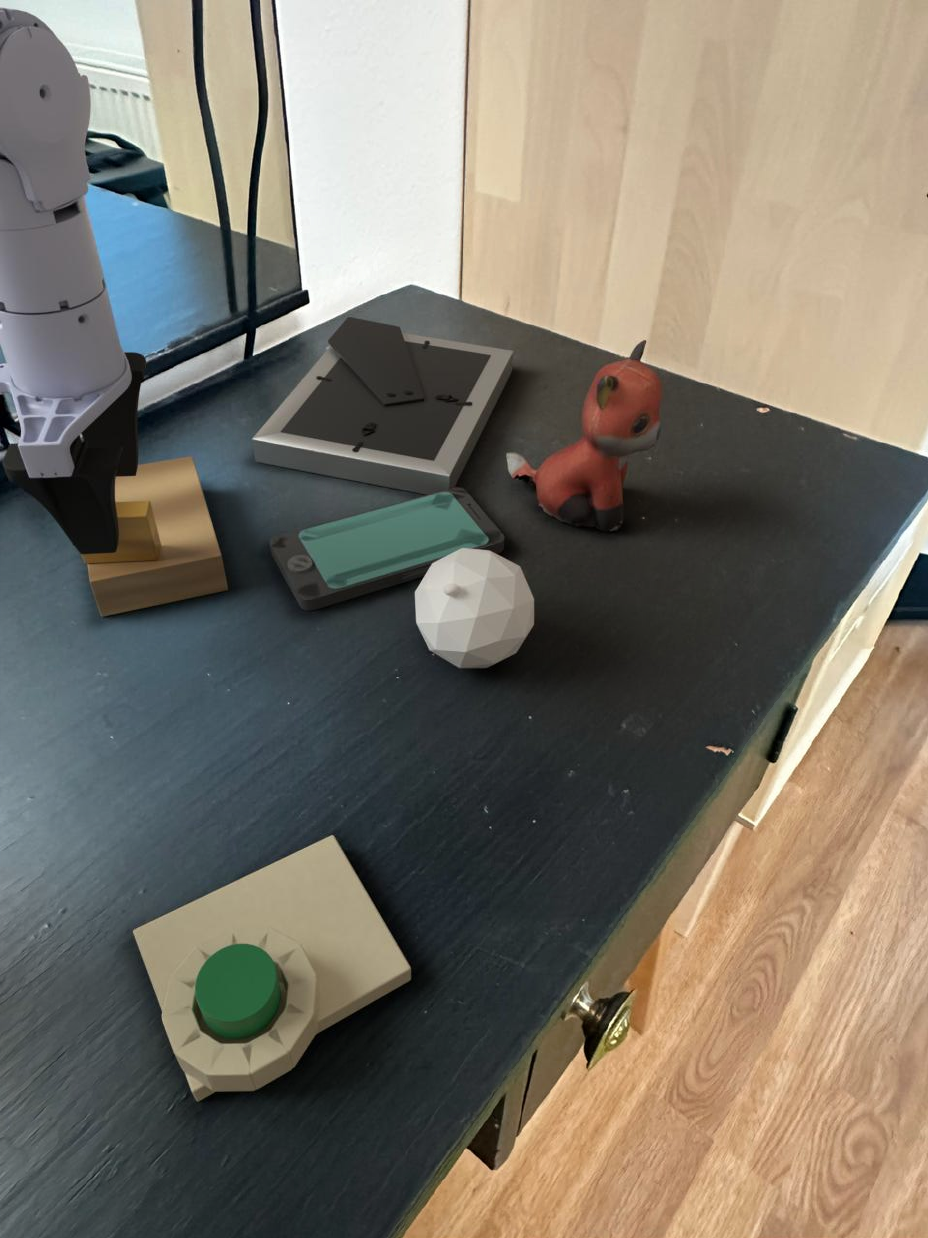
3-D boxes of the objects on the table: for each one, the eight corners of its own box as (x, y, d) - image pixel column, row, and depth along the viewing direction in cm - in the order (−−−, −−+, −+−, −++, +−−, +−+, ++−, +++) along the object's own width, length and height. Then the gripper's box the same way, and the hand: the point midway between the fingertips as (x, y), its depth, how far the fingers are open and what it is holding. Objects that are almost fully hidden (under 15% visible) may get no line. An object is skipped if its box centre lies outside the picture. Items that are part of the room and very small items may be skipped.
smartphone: (266, 535, 61) (461, 482, 66) (268, 550, 62) (461, 496, 67) (302, 601, 57) (509, 539, 62) (304, 616, 57) (508, 553, 63)
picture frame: (349, 345, 84) (255, 461, 70) (348, 316, 82) (250, 430, 68) (511, 371, 82) (448, 499, 67) (514, 342, 80) (449, 467, 65)
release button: (218, 1055, 35) (211, 1038, 34) (191, 986, 37) (183, 967, 36) (293, 1013, 36) (289, 995, 35) (263, 949, 38) (258, 929, 37)
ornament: (554, 670, 54) (516, 639, 47) (442, 685, 57) (389, 657, 50) (546, 562, 57) (508, 517, 49) (437, 581, 59) (386, 539, 52)
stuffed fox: (517, 454, 72) (530, 311, 64) (653, 490, 69) (686, 344, 61) (483, 505, 67) (492, 356, 58) (628, 545, 64) (660, 395, 56)
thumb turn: (161, 544, 57) (149, 496, 55) (158, 560, 56) (145, 512, 54) (88, 547, 57) (73, 499, 54) (84, 563, 56) (67, 515, 53)
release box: (206, 1133, 36) (193, 1107, 33) (136, 942, 41) (121, 910, 39) (425, 1004, 40) (426, 973, 38) (334, 847, 45) (330, 812, 43)
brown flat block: (228, 590, 59) (221, 555, 57) (101, 617, 57) (89, 581, 54) (199, 489, 67) (192, 455, 65) (86, 509, 65) (75, 474, 62)
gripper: (-1, 235, 49) (65, 446, 59) (-86, 361, 39) (11, 592, 48) (130, 234, 50) (175, 442, 60) (81, 357, 40) (145, 586, 49)
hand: (110, 509), depth 54 cm, fingers open, 7 cm apart
